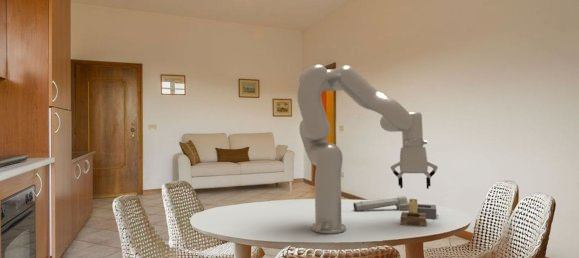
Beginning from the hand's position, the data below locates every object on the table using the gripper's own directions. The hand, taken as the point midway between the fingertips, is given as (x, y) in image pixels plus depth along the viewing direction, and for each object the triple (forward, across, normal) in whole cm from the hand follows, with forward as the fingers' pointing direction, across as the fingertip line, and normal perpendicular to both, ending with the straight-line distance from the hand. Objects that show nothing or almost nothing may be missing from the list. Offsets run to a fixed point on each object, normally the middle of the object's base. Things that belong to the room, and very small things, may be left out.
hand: (414, 187), depth 143 cm
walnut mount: (+13, +1, 0) cm, 13 cm away
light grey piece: (+14, +15, -19) cm, 28 cm away
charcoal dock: (+14, -3, -12) cm, 19 cm away
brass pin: (+13, +1, 0) cm, 13 cm away
